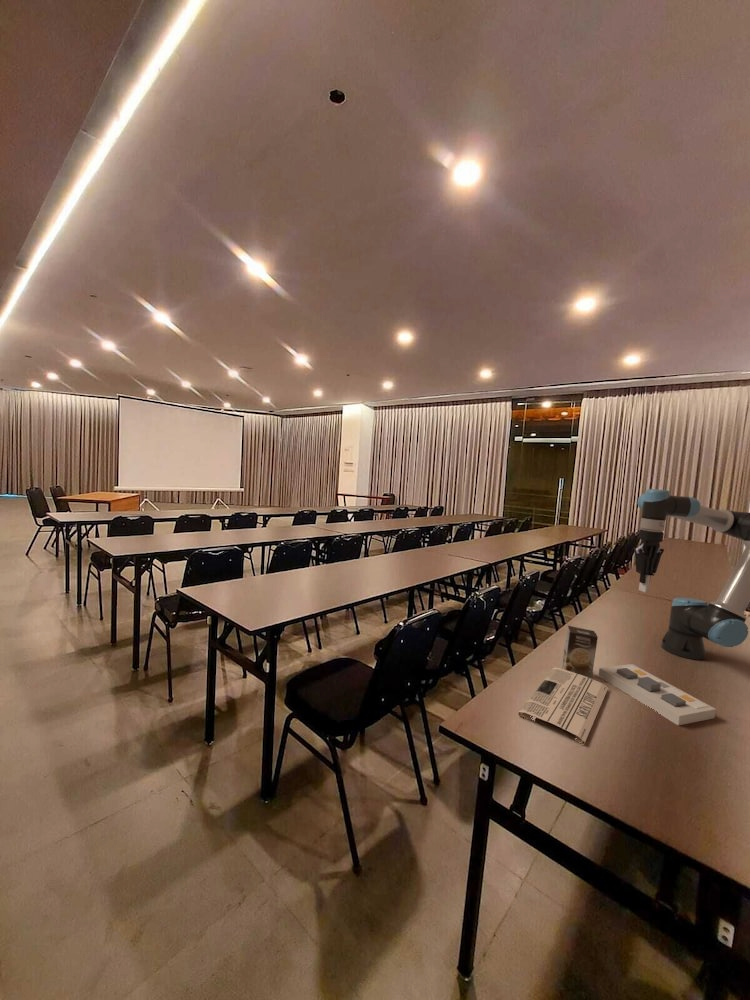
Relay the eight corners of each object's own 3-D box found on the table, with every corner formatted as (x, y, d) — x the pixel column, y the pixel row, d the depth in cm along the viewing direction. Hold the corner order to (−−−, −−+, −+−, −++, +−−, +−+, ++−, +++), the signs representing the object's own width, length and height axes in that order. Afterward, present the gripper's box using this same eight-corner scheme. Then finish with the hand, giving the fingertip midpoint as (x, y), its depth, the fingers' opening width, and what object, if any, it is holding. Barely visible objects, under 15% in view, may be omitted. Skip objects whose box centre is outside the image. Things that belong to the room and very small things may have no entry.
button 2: (670, 702, 129) (671, 693, 129) (684, 711, 125) (686, 701, 124) (660, 704, 127) (661, 694, 127) (674, 713, 123) (676, 702, 123)
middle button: (646, 686, 136) (648, 676, 136) (659, 693, 132) (660, 683, 132) (637, 687, 135) (638, 678, 135) (649, 694, 131) (651, 685, 130)
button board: (631, 671, 150) (632, 662, 150) (714, 718, 124) (716, 707, 123) (598, 675, 145) (599, 667, 145) (678, 725, 119) (679, 714, 118)
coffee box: (563, 674, 144) (569, 631, 143) (561, 666, 150) (566, 625, 149) (592, 681, 141) (598, 637, 140) (589, 672, 147) (594, 630, 146)
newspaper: (552, 672, 146) (553, 665, 146) (613, 694, 134) (614, 686, 134) (517, 717, 117) (518, 708, 117) (591, 751, 106) (592, 741, 105)
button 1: (625, 676, 144) (626, 667, 144) (636, 683, 140) (637, 674, 140) (615, 677, 143) (617, 669, 142) (627, 684, 138) (628, 675, 138)
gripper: (648, 531, 145) (640, 595, 147) (674, 532, 150) (665, 593, 152) (629, 528, 152) (621, 588, 155) (654, 528, 157) (646, 587, 159)
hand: (643, 591), depth 153 cm, fingers closed
